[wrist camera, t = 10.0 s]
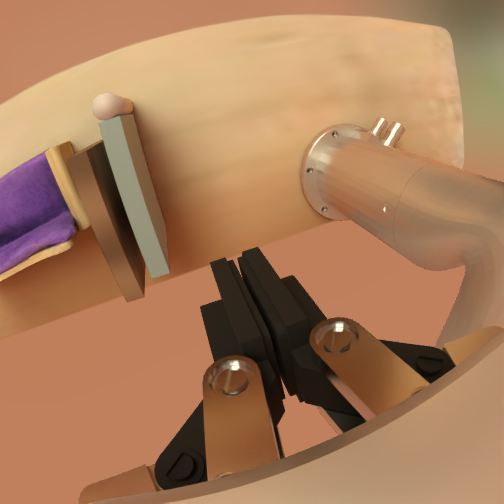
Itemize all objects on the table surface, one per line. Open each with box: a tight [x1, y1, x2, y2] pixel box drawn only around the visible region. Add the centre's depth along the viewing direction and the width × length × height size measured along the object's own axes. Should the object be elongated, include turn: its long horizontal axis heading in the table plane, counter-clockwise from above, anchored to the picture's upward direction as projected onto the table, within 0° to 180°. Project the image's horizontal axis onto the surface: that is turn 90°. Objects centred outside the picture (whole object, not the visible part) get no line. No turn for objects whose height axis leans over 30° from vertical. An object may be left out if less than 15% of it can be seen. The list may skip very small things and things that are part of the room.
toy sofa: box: [0, 141, 91, 281], centre depth 24 cm, size 21×9×10 cm, turn 105°
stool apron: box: [67, 140, 145, 302], centre depth 26 cm, size 12×2×12 cm, turn 12°
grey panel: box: [92, 93, 170, 278], centre depth 26 cm, size 2×15×11 cm, turn 11°
